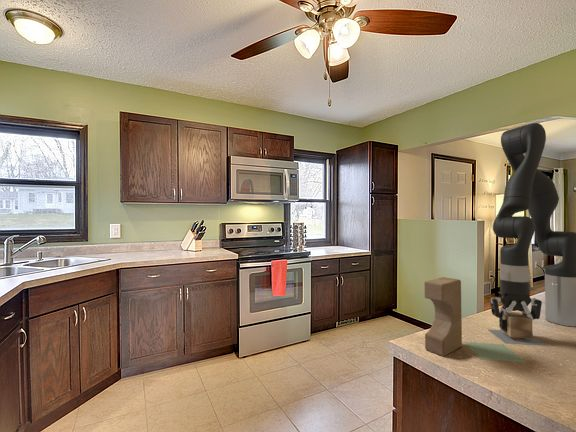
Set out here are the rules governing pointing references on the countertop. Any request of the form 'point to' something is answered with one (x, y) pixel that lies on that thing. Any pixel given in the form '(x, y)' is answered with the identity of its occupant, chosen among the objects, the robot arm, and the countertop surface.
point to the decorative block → (444, 315)
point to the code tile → (515, 339)
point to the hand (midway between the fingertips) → (515, 330)
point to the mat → (493, 352)
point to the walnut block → (519, 325)
